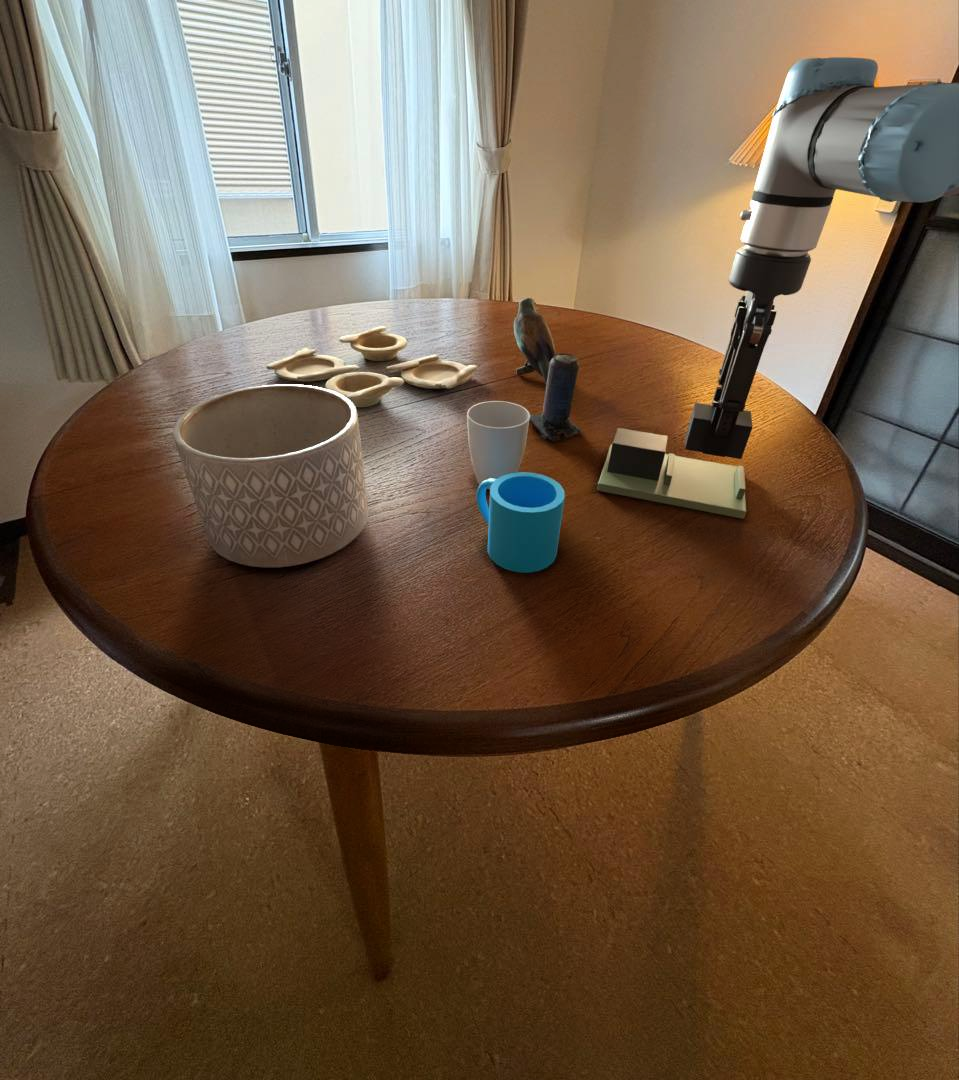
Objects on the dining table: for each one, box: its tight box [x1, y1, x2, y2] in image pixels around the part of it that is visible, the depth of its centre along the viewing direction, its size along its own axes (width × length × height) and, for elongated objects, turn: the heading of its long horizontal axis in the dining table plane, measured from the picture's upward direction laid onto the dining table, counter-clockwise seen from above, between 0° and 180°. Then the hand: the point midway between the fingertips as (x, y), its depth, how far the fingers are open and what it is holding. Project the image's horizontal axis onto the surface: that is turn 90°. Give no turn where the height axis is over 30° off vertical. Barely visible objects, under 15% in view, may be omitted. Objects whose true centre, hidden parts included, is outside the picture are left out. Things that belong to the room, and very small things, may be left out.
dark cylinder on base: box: [529, 352, 581, 443], centre depth 88 cm, size 9×8×12 cm
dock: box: [596, 427, 747, 520], centre depth 77 cm, size 19×12×6 cm, turn 71°
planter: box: [172, 384, 370, 568], centre depth 64 cm, size 19×19×14 cm
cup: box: [466, 400, 531, 490], centre depth 75 cm, size 8×8×10 cm
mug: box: [475, 471, 566, 574], centre depth 64 cm, size 12×8×8 cm
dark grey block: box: [684, 402, 754, 460], centre depth 73 cm, size 7×5×4 cm
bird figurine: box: [513, 297, 557, 385], centre depth 106 cm, size 13×10×20 cm
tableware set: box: [265, 325, 478, 408], centre depth 106 cm, size 35×29×4 cm
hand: (713, 443), depth 74 cm, fingers closed on dark grey block, 5 cm apart
